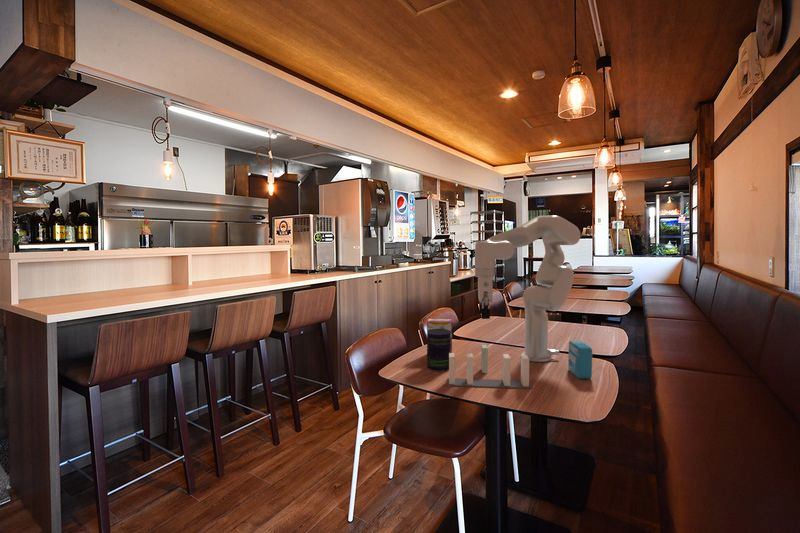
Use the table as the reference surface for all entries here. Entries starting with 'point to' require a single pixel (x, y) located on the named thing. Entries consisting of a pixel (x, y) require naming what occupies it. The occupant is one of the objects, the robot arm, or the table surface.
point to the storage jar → (438, 349)
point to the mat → (488, 383)
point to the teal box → (580, 359)
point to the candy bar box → (440, 327)
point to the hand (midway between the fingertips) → (484, 316)
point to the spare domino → (484, 358)
